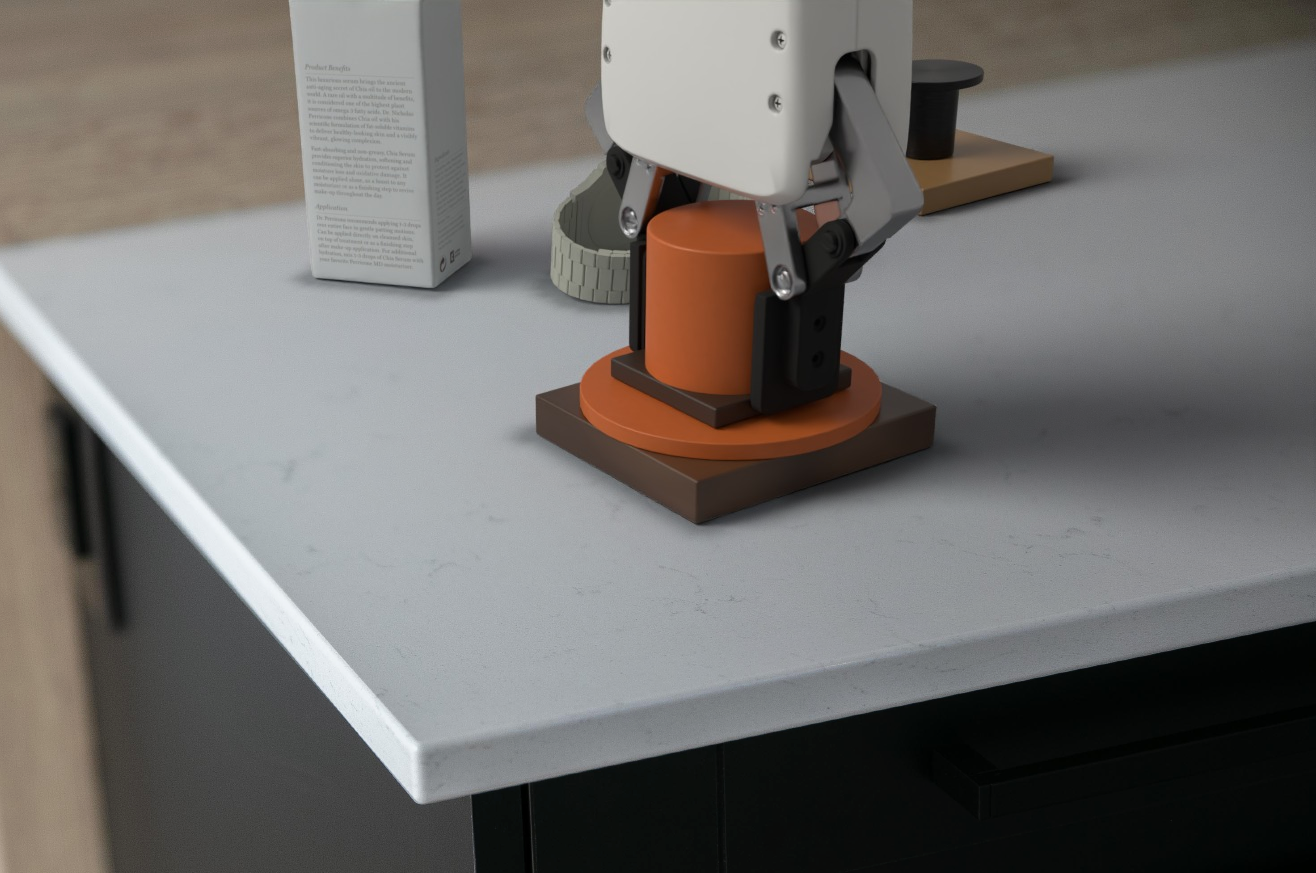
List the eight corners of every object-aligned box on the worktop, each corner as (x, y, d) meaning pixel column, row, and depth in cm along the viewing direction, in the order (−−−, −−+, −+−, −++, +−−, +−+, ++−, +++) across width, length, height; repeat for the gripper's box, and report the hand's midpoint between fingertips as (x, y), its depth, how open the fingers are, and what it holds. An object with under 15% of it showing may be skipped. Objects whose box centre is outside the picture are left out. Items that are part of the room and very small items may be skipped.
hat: (749, 326, 72) (755, 162, 69) (945, 410, 64) (962, 229, 61) (522, 390, 68) (519, 219, 65) (703, 488, 60) (708, 299, 57)
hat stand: (927, 145, 96) (936, 42, 93) (1052, 181, 90) (1065, 71, 87) (800, 177, 93) (806, 70, 90) (921, 216, 86) (930, 102, 84)
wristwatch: (697, 237, 86) (700, 124, 83) (788, 275, 81) (793, 155, 78) (519, 280, 82) (516, 162, 80) (602, 322, 77) (602, 198, 75)
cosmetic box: (474, 260, 85) (465, -25, 79) (434, 292, 82) (422, -3, 76) (350, 248, 88) (332, -29, 82) (306, 279, 84) (284, -7, 78)
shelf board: (759, 367, 72) (761, 329, 72) (934, 446, 65) (938, 405, 65) (534, 434, 68) (534, 394, 68) (695, 525, 61) (697, 482, 61)
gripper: (1075, -203, 52) (1003, 428, 60) (673, -238, 65) (662, 283, 74) (858, -170, 49) (815, 489, 57) (483, -213, 62) (496, 327, 71)
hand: (730, 368), depth 66 cm, fingers closed on hat, 5 cm apart
